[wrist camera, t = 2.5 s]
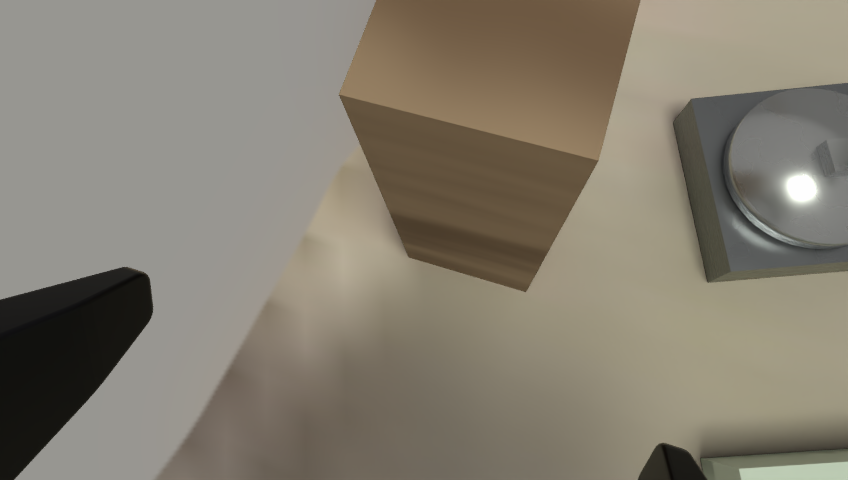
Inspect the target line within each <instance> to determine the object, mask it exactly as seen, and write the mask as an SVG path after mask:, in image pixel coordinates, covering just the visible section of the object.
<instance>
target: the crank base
mask: <svg viewBox="0 0 848 480" xmlns="http://www.w3.org/2000/svg"><path fill="white" fill-rule="evenodd" d="M803 88H815V89H825V90H831V91H835V92H838V93H842V94H845V95H847V96H848V83H842V84H832V85H823V86H813V87H803ZM794 89H802V88H793V89H784V90H774V91H764V92H754V93H744V94H735V95H725V96H715V97H705V98H695V99H691V100H690V101H689V102H688V104H687V105H686V106H685V108H684V109H683V110H682V112H681V113H680V114H679V116H678V117H677V118H676V120H675V121H674V123H673V124H674V129H675V133H676V138H677V143H678V147H679V152H680V156H681V161H682V166H683V170H684V175H685V179H686V184H687V189H688V193H689V198H690V202H691V207H692V212H693V216H694V221H695V225H696V230H697V235H698V239H699V244H700V248H701V253H702V258H703V262H704V267H705V271H706V276H707V281H708V283H709V282H721V281H732V280H744V279H756V278H768V277H780V276H792V275H804V274H816V273H828V272H839V271H848V245H847V246H843V247H839V248H832V249H811V248H803V247H799V246H794V245H791V244H788V243H785V242H783V241H780V240H778V239H776V238H774V237H772V236H770V235H769V234H767V233H765V232H764V231H762V230H761V229H759V228H758V227H757V226H756V225H754V224H753V223H752V222H751V221H750V220H749V219H748V218H747V217H746V216H745V215H744V214H743V213H742V211H741V210H740V209H739V208H738V206H737V205H736V203H735V202H734V200H733V198H732V196H731V194H730V192H729V190H728V187H727V184H726V181H725V177H724V171H723V157H724V150H725V147H726V143H727V140H728V138H729V136H730V134H731V132H732V131H733V129H734V128H735V127H736V125H737V124H738V123H739V122H740V121H741V120H742V119H743V118H744V117H745V116H746V115H747V114H748V113H749V112H750V111H751V110H752V109H753V108H754V107H755V106H756V105H758V104H759V103H760V102H762V101H763V100H765V99H767V98H768V97H771V96H773V95H775V94H778V93H781V92H784V91H788V90H794Z"/></svg>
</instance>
